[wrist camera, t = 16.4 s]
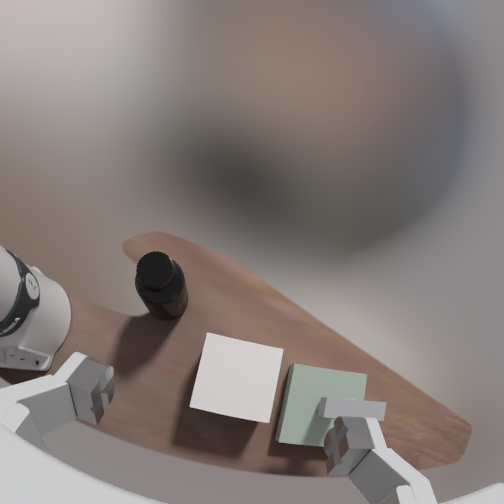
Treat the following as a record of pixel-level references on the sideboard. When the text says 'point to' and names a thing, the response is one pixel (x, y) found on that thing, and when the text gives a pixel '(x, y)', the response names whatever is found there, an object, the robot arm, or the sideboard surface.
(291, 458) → the sideboard surface
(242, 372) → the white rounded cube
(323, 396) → the t-shaped pedestal stand
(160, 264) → the supplement bottle
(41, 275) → the robot arm
